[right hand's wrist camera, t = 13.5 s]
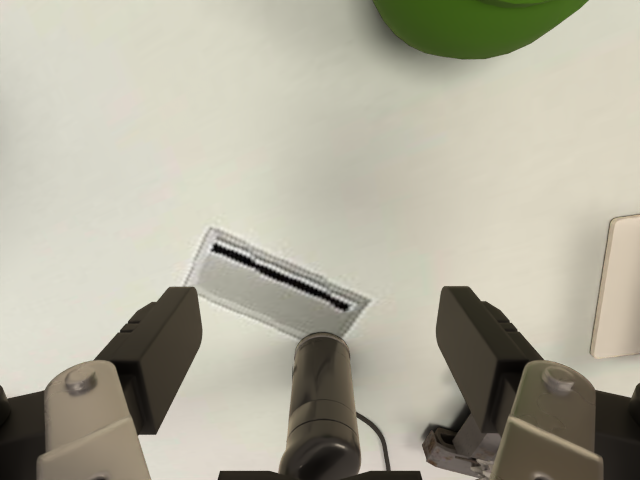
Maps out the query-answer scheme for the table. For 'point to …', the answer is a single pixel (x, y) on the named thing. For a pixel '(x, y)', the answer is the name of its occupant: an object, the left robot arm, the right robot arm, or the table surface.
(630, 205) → the table surface
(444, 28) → the vase
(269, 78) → the table surface
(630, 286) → the tablet stand
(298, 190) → the table surface
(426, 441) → the toy
